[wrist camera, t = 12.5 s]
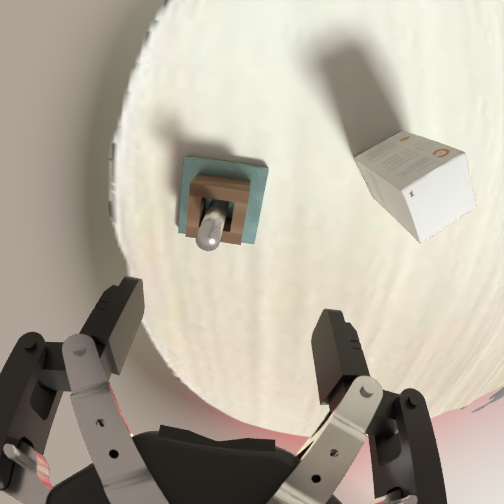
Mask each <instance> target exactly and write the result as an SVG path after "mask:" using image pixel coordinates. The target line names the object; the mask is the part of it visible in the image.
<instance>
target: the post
mask: <svg viewBox="0 0 504 504" xmlns="http://www.w3.org/2000/svg"><path fill="white" fill-rule="evenodd" d="M268 170H269V169H268V168H267V167H262V166H256V165H250V164H243V163H237V162H230V161H223V160H216V159H208V158H200V157H192V156H185V157H184V163H183V174H182V185H181V198H180V213H179V230H178V233H183V234H186V223H187V210H188V198H189V188H190V182H191V181H192V180H193V179H194V177H195V176H196V175H197V174H203V175H210V176H217V177H224V178H231V179H237V180H244V181H250V182H251V184H250V194H249V200H248V206H247V211H246V217H245V223H244V229H243V234H242V240H241V242H243V243H249V244H254V242H255V237H256V232H257V227H258V222H259V216H260V211H261V206H262V201H263V196H264V191H265V186H266V180H267V175H268ZM234 204H235V202H231V201H224V200H218V199H211V198H206V203H205V212H204V214H205V216H204V219H203V221H202V223H201V226H200V228H199V231H198V233H197V235H196V243H197V245H198V246H199V247H200V248H201V249H203V250H205V251H212V250H215V249H216V248H217V247H218V246H219V243H220V239H221V235H222V231H223V227H224V223H225V219H226V217H229V218H232V216H233V210H234Z"/></svg>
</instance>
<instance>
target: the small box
mask: <svg viewBox="0 0 504 504" xmlns="http://www.w3.org/2000/svg"><path fill="white" fill-rule="evenodd" d="M354 160H355V161H356V163H357V165H358V167H359V169H360V171H361V173H362V175H363V177H364V179H365V181H366V183H367V186H368V188H369V190H370V192H371V194H372V196H373V198H374V199H375V200H376V201H377V202H378V203H379V204H380V205H381V206H382V207H383V208H384V209H386V210H387V211H388V212H389V213H390V214H391V215H392V216H393V217H394V218H395V219H396V220H397V221H398V222H399V223H400V224H401V225H402V226H403V227H404V228H405V229H406V230H407V231H408V232H409V233H410V234H411V235H412V236H413V237H414V238H415V239H416V240H417V241H418V242H419V243H420V244H421V243H423V242H424V241H426V240H427V239H429V238H431V237H432V236H434V235H435V234H437V233H438V232H440V231H441V230H443V229H444V228H446V227H447V226H449V225H450V224H452V223H453V222H455V221H456V220H458V219H459V218H461V217H462V216H464V215H465V214H467V213H468V212H469V211H471V210H472V209H474V208H475V207H476V200H475V195H474V190H473V185H472V180H471V176H470V171H469V167H468V163H467V159H466V155H465V152H463V151H460V150H458V149H455V148H452V147H450V146H447V145H444V144H441V143H439V142H436V141H433V140H430V139H427V138H424V137H421V136H418V135H414V134H411V133H408V132H404V131H400V132H399V133H397V134H395V135H393V136H391V137H389V138H388V139H386V140H384V141H382V142H380V143H379V144H377V145H375V146H373V147H371V148H370V149H368V150H366V151H364V152H363V153H361V154H359V155H358V156H356V157H354Z"/></svg>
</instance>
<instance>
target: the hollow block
mask: <svg viewBox="0 0 504 504" xmlns="http://www.w3.org/2000/svg"><path fill="white" fill-rule="evenodd" d="M250 184H251V182H250V181H244V180H237V179H231V178H224V177H217V176H210V175H203V174H197V175H196V176H195V177H194V179H193V180H192V181H191V182H190V188H189V198H188V210H187V223H186V237H192V238H196V235H197V233H198V231H199V228H200V226H201V223H202V221H203V219H204V216H205V214H204V212H205V203H206V198H211V199H218V200H224V201H231V202H235V204H234V210H233V216H232V218H229V217H226V219H225V223H224V227H223V231H222V235H221V239H220V242H225V243H231V244H238V245H241V240H242V234H243V229H244V223H245V217H246V211H247V206H248V200H249V194H250Z"/></svg>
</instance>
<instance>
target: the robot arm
mask: <svg viewBox="0 0 504 504" xmlns="http://www.w3.org/2000/svg"><path fill="white" fill-rule="evenodd" d="M143 314H144V294H143V282H142V279H138V278H133V277H128V276H125V277H124V278H123V280H122V282H121V283H120V285H119V286H115V285H112V286H111V287H110V288H108V289H107V290H106V291H104V293H103V295H102V296H101V298H100V299H99V302H98V303H97V304H96V306H95V308H94V309H93V311H92V313H91V314H90V316H89V318H88V319H87V321H86V323H85V324H84V326H83V328H82V330H81V331H80V333H79V334H75V335H72V336H70V337H69V338H67V339H66V340H65V341H64V342H45V340H44V338H43V337H42V336H41V335H40V334H39V333H36V332H29V333H26V334H24V335H23V336H21V337H20V338H19V340H18V341H17V343H16V345H15V347H14V349H13V350H12V352H11V354H10V356H9V358H8V360H7V362H6V364H5V365H4V367H3V369H2V372H1V373H0V492H2V493H4V494H7V495H9V496H12V497H14V498H15V499H17V500H19V501H21V502H22V503H24V504H342V503H341V502H340V501H339V500H338V499H337V498H336V497H335V496H334V495H333V492H334V491H335V490H336V488H337V486H338V485H339V484H340V482H341V480H342V479H343V477H344V476H345V474H346V473H347V471H348V469H349V467H350V466H351V465H352V463H353V461H354V459H355V458H356V456H357V454H358V453H359V451H360V449H361V447H362V445H363V444H364V442H365V440H366V436H367V435H366V434H368V436H369V445H370V452H371V461H372V471H373V482H374V494H375V500H373V501H372V502H371V503H370V504H447V498H446V491H445V485H444V479H443V473H442V468H441V462H440V457H439V453H438V448H437V444H436V439H435V435H434V431H433V427H432V423H431V420H430V416H429V412H428V409H427V405H426V402H425V399H424V397H423V395H422V394H421V393H420V392H419V391H417V390H415V389H412V388H408V389H405V390H403V391H402V392H401V393H400V394H396V393H392V392H389V391H385V390H383V389H382V387H381V385H380V383H379V382H378V381H377V380H375V379H374V378H372V377H370V374H369V371H368V367H367V364H366V360H365V357H364V354H363V350H361V348H362V347H361V344H360V342H359V338H358V334H357V331H356V330H355V329H354V327H353V326H352V325H351V324H350V323H347V322H345V320H344V317H343V313H342V311H340V310H332V309H324V310H323V312H322V314H321V316H320V318H319V320H318V323H317V325H316V327H315V329H314V331H313V334H312V340H311V344H312V351H313V358H314V364H315V371H316V378H317V384H318V392H319V399H320V405H329V408H330V410H329V412H328V413H327V414H326V416H325V417H324V418H323V420H322V421H321V423H320V424H319V426H318V427H317V428H316V430H315V431H314V432H313V434H312V435H311V436H310V438H309V439H308V440H307V442H306V443H305V444H304V445H303V446H302V447H301V448H300V450H299V451H298V452H297V453H296V454H295V455H293V454H292V453H290V452H288V451H286V450H285V449H282V448H279V447H276V446H275V440H269V439H253V438H245V439H236V440H228V441H214V440H212V439H209V438H206V437H203V436H201V435H198V434H196V433H194V432H191V431H189V430H184V429H179V428H174V427H169V426H164V425H160V430H159V431H150V432H145V433H141V434H138V435H135V436H132V433H131V432H130V429H129V427H128V425H127V423H126V421H125V419H124V417H123V415H122V412H121V410H120V408H119V405H118V403H117V401H116V398H115V396H114V394H113V391H112V388H111V386H110V383H109V378H110V376H111V373H113V374H117V375H120V373H121V370H122V367H123V365H124V362H125V359H126V357H127V354H128V352H129V349H130V347H131V344H132V342H133V339H134V337H135V335H136V332H137V329H138V327H139V325H140V323H141V320H142V318H143ZM63 391H72V394H71V396H70V397H71V402H72V406H73V409H74V412H75V415H76V418H77V421H78V424H79V427H80V430H81V433H82V436H83V438H84V441H85V444H86V446H87V449H88V451H89V454H90V456H91V459H92V461H93V463H92V464H90V465H89V466H87V467H85V468H84V469H82V470H80V471H79V472H77V473H76V474H74V475H72V476H71V477H69V478H67V479H66V480H64V481H62V482H60V483H59V484H57V485H56V486H54V487H53V486H52V485H51V482H50V478H49V473H50V470H49V464H48V462H47V460H46V459H45V457H44V456H43V454H44V450H45V446H46V442H47V439H48V436H49V433H50V429H51V426H52V423H53V420H54V417H55V414H56V411H57V408H58V405H59V402H60V399H61V397H62V394H63Z"/></svg>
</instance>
